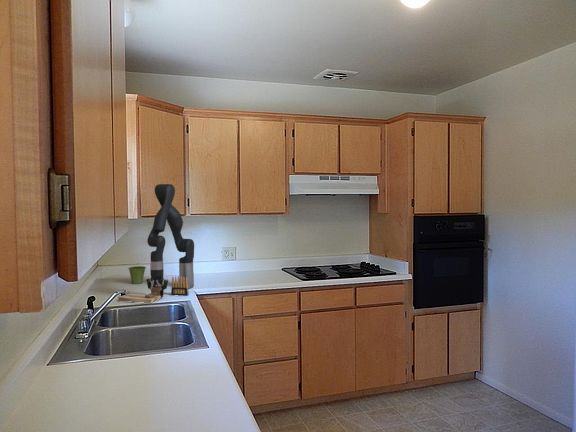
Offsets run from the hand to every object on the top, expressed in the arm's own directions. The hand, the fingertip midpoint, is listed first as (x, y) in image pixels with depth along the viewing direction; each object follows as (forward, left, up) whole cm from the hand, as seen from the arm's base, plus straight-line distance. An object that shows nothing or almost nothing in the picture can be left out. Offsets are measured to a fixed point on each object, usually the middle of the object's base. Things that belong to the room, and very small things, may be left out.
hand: (157, 295), depth 240 cm
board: (+8, -7, -1) cm, 10 cm away
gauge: (+4, 0, -2) cm, 4 cm away
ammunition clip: (-10, +9, -2) cm, 14 cm away
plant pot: (-33, -39, -2) cm, 51 cm away
